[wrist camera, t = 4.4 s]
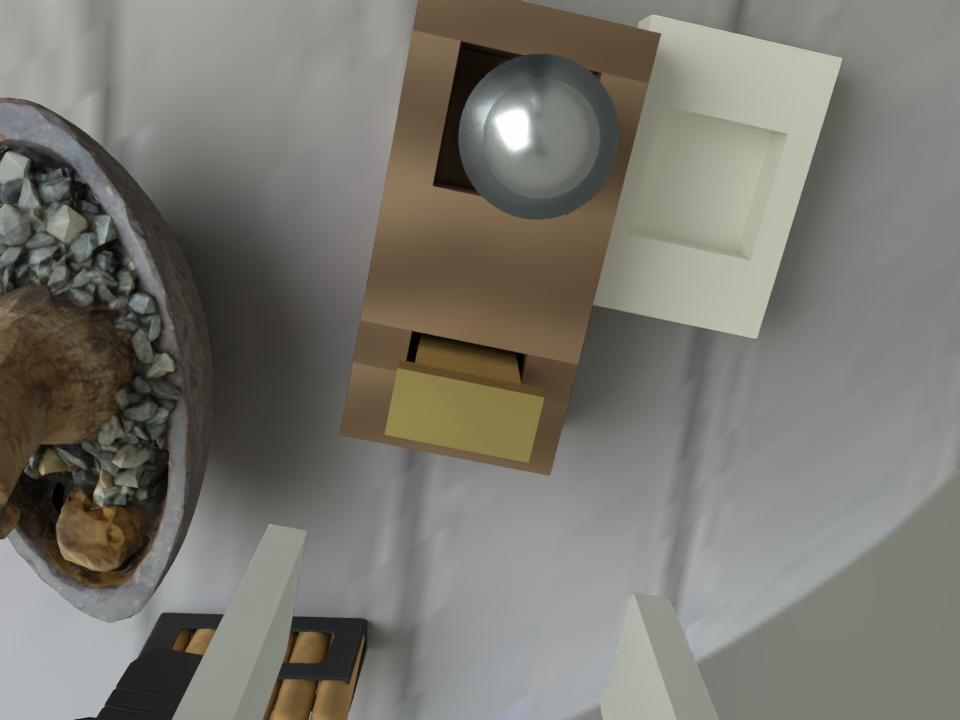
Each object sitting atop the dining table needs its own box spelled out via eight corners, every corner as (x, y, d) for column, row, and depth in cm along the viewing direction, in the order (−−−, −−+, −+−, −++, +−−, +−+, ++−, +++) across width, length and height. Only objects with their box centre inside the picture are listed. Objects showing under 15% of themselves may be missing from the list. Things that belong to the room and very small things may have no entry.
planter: (178, 541, 44) (-47, 868, 25) (-98, 314, 41) (-599, 489, 22) (379, 340, 42) (299, 533, 22) (100, 79, 38) (-273, 44, 19)
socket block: (429, -1, 38) (422, -22, 32) (632, 45, 38) (661, 33, 32) (357, 391, 42) (339, 434, 37) (539, 427, 43) (549, 475, 37)
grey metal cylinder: (474, 69, 37) (476, 34, 20) (568, 90, 37) (643, 71, 21) (455, 165, 38) (443, 204, 21) (546, 185, 38) (601, 238, 22)
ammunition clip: (367, 618, 46) (331, 788, 34) (367, 649, 46) (332, 827, 35) (161, 612, 46) (55, 781, 34) (163, 643, 46) (59, 820, 35)
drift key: (416, 304, 39) (397, 367, 29) (526, 327, 39) (544, 397, 29) (406, 356, 39) (384, 434, 30) (515, 378, 40) (528, 462, 30)
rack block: (638, 21, 38) (652, 14, 35) (815, 62, 39) (843, 58, 36) (573, 289, 41) (580, 302, 38) (737, 323, 42) (756, 339, 39)
